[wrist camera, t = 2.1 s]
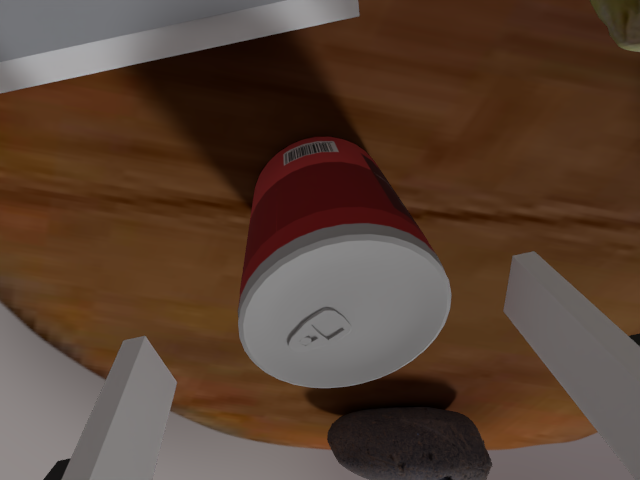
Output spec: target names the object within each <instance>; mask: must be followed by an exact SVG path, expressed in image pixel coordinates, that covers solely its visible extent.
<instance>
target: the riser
mask: <svg viewBox="0 0 640 480" xmlns="http://www.w3.org/2000/svg"><path fill="white" fill-rule="evenodd" d="M358 16H359V6H358V0H0V93H4V92H9V91H13V90H18V89H23V88H27V87H32V86H37V85H41V84H46V83H51V82H55V81H60V80H65V79H69V78H74V77H79V76H83V75H88V74H93V73H97V72H102V71H106V70H111V69H116V68H120V67H125V66H130V65H134V64H139V63H144V62H148V61H153V60H158V59H162V58H167V57H172V56H176V55H181V54H186V53H190V52H195V51H199V50H204V49H209V48H213V47H218V46H223V45H227V44H232V43H237V42H241V41H246V40H251V39H255V38H260V37H265V36H269V35H274V34H278V33H283V32H288V31H292V30H297V29H302V28H306V27H311V26H316V25H320V24H325V23H330V22H334V21H339V20H344V19H348V18H353V17H358Z"/></svg>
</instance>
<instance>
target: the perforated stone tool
mask: <svg viewBox="0 0 640 480" xmlns="http://www.w3.org/2000/svg"><path fill="white" fill-rule="evenodd" d="M327 440H328V443H329V445H330V447H331V449H332V451H333V453H334V455H335V457H336V459H337V460H338V462H339V463H340V464H341V465H342V466H344V467H345V468H347V469H348V470H350V471H351V472H353V473H355V474H357V475H359V476H361V477H364V478H367V479H369V480H486V479H487V476H488V474H489V471H490V468H491V467H492V462H491V459H490V457H489V454H488V452H487V450H486V449H485V446H484V445H485V444H484V441H483V440H482V438H481V436H480V433H479V431H478V429H477V428H476V426H475V425H474V423H473V422H472V421H471V420H470V419H469V418H468V417H466V416H465V415H463V414H460V413H458V412H453V411H448V410H443V409H436V408H431V407H402V408H401V407H394V408H379V409H367V410H361V411H356V412H352V413H349V414H346V415H344V416H342V417H340V418H339V419H338V420H336V421H335V422H334V423H332V425H331V428H330V429H329V431H328V438H327Z"/></svg>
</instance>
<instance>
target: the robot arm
mask: <svg viewBox="0 0 640 480" xmlns="http://www.w3.org/2000/svg"><path fill="white" fill-rule="evenodd" d="M504 312H505V314H506V315H507V316H508V318H509V319H510V320H511V321H512V323H513V324H514V325H515V327H516V328H517V329H518V330H519V332H520V333H521V334H522V335H523V337H524V338H525V339H526V341H527V342H528V343H529V344H530V346H531V347H532V348H533V349H534V351H535V352H536V353H537V355H538V356H539V357H540V358H541V360H542V361H543V362H544V364H545V365H546V366H547V367H548V369H549V370H550V371H551V372H552V374H553V375H554V376H555V378H556V379H557V380H558V381H559V383H560V384H561V385H562V387H563V388H564V389H565V390H566V392H567V393H568V394H569V395H570V397H571V398H572V399H573V401H574V402H575V403H576V404H577V406H578V407H579V408H580V409H581V411H582V412H583V413H584V415H585V416H586V417H587V418H588V420H589V421H590V422H591V424H592V425H593V426H594V427H595V429H596V430H597V431H598V432H599V434H600V435H601V436H602V438H603V439H604V440H605V441H606V443H607V444H608V445H609V447H610V448H611V449H612V450H613V452H614V453H615V454H616V455H617V457H618V458H619V459H620V461H621V462H622V463H623V464H624V466H625V467H626V468H627V469H628V471H629V472H630V473H631V475H632V476H633V477H634V478H635V480H640V334H636V335H631V336H627V335H626V334H625V333H624V332H623V331H622V330H621V329H620V328H619V327H618V326H616V325H615V324H614V323H613V322H612V321H611V320H610V319H609V318H608V317H606V316H605V315H604V314H603V313H602V312H601V311H600V310H599V309H598V308H596V307H595V306H594V305H593V304H592V303H591V302H590V301H589V300H588V299H586V298H585V297H584V296H583V295H582V294H581V293H580V292H579V291H578V290H576V289H575V288H574V287H573V286H572V285H571V284H570V283H569V282H568V281H566V280H565V279H564V278H563V277H562V276H561V275H560V274H559V273H558V272H557V271H555V270H554V269H553V268H552V267H551V266H550V265H549V264H548V263H547V262H545V261H544V260H543V259H542V258H541V257H540V256H539V255H538V254H537V253H535V252H534V251H533V252H529V253H524V254H519V255H515V256H513V257H512V263H511V269H510V275H509V281H508V287H507V293H506V299H505V305H504ZM176 384H177V382H176V380H175V379H174V377H173V376H172V374H171V373H170V371H169V370H168V368H167V367H166V365H165V364H164V363H163V361H162V360H161V358H160V357H159V355H158V354H157V352H156V351H155V349H154V348H153V347H152V345H151V344H150V342H149V341H148V339H147V338H146V336H142V337H138V338H133V339H128V340H124V341H123V343H122V345H121V348H120V350H119V352H118V354H117V357H116V359H115V361H114V363H113V365H112V368H111V370H110V372H109V374H108V377H107V379H106V381H105V383H104V386H103V388H102V390H101V392H100V395H99V397H98V399H97V401H96V404H95V406H94V408H93V410H92V412H91V415H90V417H89V419H88V422H87V424H86V426H85V428H84V430H83V432H82V435H81V437H80V439H79V442H78V444H77V446H76V448H75V451H74V453H73V455H72V457H71V459H66V460H61V461H58V462H57V463H56V465H55V466H54V467H53V468H52V469H51V471H50V472H49V473H48V474H47V476H46V477H45V478H44V480H152V479H153V475H154V472H155V467H156V464H157V460H158V456H159V452H160V448H161V444H162V439H163V436H164V432H165V428H166V424H167V420H168V416H169V412H170V408H171V404H172V400H173V396H174V392H175V388H176Z"/></svg>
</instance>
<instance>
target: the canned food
mask: <svg viewBox="0 0 640 480" xmlns="http://www.w3.org/2000/svg"><path fill="white" fill-rule="evenodd" d="M450 303H451V290H450V285H449V280H448V278H447V276H446V274H445V272H444V268H443V266H442V264H441V262H440V261H439V259H438V257H437V255H436V253H435V252H434V250H433V249H432V247H431V246H430V244H429V243H428V241H427V239H426V237H425V236H424V234H423V233H422V231H421V230H420V228H419V227H418V225H417V224H416V222H415V221H414V219H413V218H412V216H411V215H410V213H409V212H408V210H407V209H406V207H405V206H404V205H403V203H402V202H401V200H400V199H399V197H398V196H397V194H396V193H395V191H394V190H393V188H392V187H391V185H390V184H389V182H388V181H387V179H386V178H385V176H384V175H383V173H382V172H381V170H380V169H379V167H378V166H377V165H376V163H375V162H374V160H373V159H372V158H371V157H370V156H369V155H368V153H367V152H366V151H364V150H363V149H361V148H360V147H359V146H357V145H356V144H354V143H351V142H349V141H346V140H344V139H339V138H334V137H312V138H308V139H303V140H300V141H298V142H295V143H293V144H291V145H289V146H287V147H286V148H284V149H283V150H281V151H280V152H278V153H277V154H276V155H275V156H274V157H273V158H272V159H271V160H270V161H269V162H268V163H267V164H266V166H265V167H264V169H263V170H262V172H261V173H260V176H259V178H258V180H257V183H256V185H255V191H254V197H253V204H252V211H251V218H250V225H249V232H248V239H247V246H246V253H245V260H244V267H243V274H242V281H241V288H240V299H239V307H238V318H239V321H238V325H239V337H240V340H241V342H242V345H243V347H244V350H245V352H246V353H247V354H248V356H249V357H250V358H251V360H252V361H253V362H254V363H255V364H256V365H257V366H258V367H259V368H261V369H262V370H263V371H264V372H266V373H268V374H270V375H271V376H273V377H275V378H277V379H279V380H282V381H285V382H288V383H291V384H294V385H300V386H305V387H312V388H336V387H347V386H352V385H357V384H362V383H365V382H368V381H372V380H375V379H378V378H381V377H383V376H385V375H387V374H389V373H392V372H394V371H396V370H398V369H399V368H401V367H403V366H404V365H406V364H408V363H409V362H411V361H412V360H414V359H415V358H416V357H417V356H418V355H420V354H421V353H422V352H423V351H424V350H426V348H427V347H428V346H429V345H430V344H431V343H432V342H433V341H434V340H435V338H436V337H437V336H438V334H439V332H440V331H441V329H442V327H443V326H444V324H445V322H446V319H447V316H448V313H449V311H450Z"/></svg>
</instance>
